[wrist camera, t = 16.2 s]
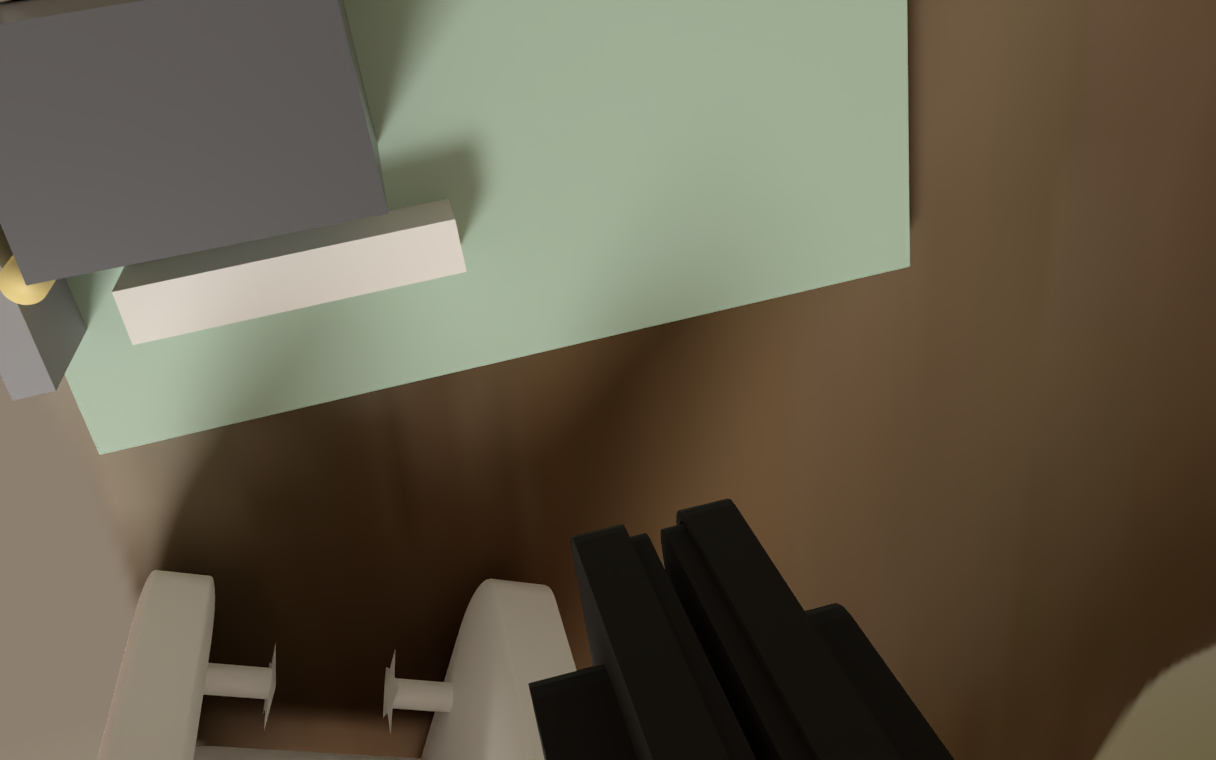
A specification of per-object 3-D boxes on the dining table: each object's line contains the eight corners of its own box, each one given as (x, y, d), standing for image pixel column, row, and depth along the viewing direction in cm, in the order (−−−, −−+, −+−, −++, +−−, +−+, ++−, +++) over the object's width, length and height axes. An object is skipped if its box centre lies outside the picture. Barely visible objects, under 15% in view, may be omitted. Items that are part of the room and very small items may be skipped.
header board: (891, 253, 28) (995, 327, 24) (107, 434, 25) (61, 555, 21) (879, -394, 21) (1019, -456, 17) (-182, -244, 19) (-336, -272, 14)
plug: (377, 143, 23) (388, 213, 18) (86, 198, 22) (26, 285, 18) (329, -56, 21) (330, -31, 17) (10, -4, 20) (-78, 37, 16)
